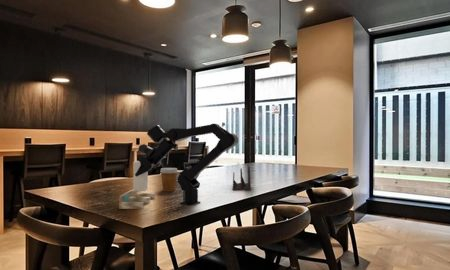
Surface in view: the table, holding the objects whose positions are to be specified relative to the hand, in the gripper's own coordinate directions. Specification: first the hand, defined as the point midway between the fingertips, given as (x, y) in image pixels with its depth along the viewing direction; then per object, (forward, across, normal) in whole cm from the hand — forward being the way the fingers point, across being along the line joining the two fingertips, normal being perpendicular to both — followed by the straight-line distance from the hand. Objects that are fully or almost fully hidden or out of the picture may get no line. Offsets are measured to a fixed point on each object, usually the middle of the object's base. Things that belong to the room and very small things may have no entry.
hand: (137, 175), depth 133 cm
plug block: (+4, 0, +6) cm, 7 cm away
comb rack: (+8, +4, +9) cm, 12 cm away
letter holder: (-25, -40, +43) cm, 64 cm away
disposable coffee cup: (+3, -29, +14) cm, 33 cm away
